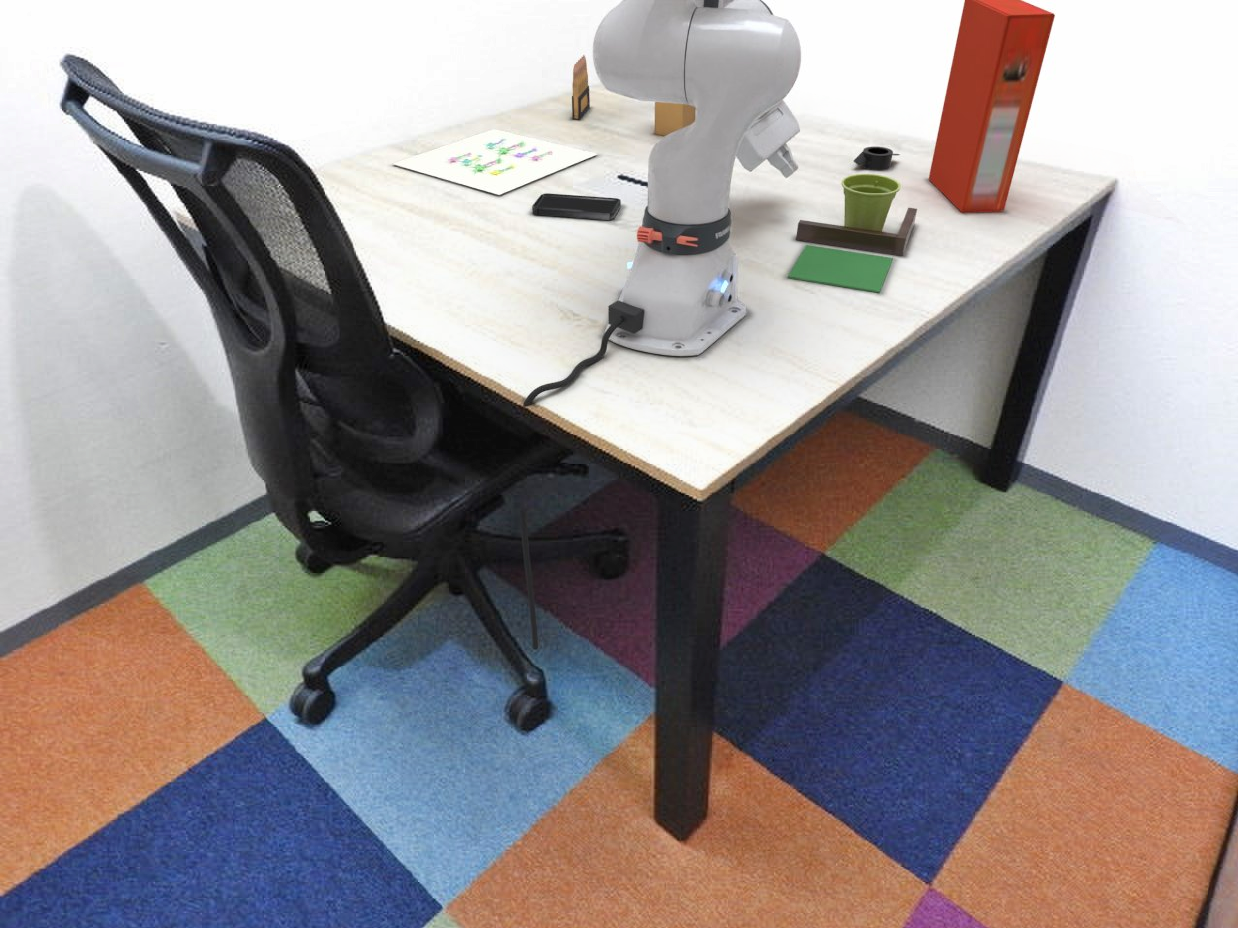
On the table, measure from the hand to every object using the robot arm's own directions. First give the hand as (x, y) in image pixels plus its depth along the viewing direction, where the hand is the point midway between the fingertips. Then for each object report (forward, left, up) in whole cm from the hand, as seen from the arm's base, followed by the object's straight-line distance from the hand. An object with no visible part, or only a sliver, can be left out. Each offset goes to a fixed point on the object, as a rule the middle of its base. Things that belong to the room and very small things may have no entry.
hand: (792, 173), depth 147 cm
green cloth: (-16, -13, -8) cm, 22 cm away
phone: (-9, +36, -8) cm, 38 cm away
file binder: (+25, -28, -9) cm, 38 cm away
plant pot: (-1, -13, -9) cm, 16 cm away
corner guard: (-1, -12, -8) cm, 15 cm away
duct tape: (+36, -10, -9) cm, 38 cm away
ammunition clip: (+48, +61, -9) cm, 78 cm away
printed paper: (+10, +63, -9) cm, 65 cm away
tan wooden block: (+41, +35, -9) cm, 55 cm away
